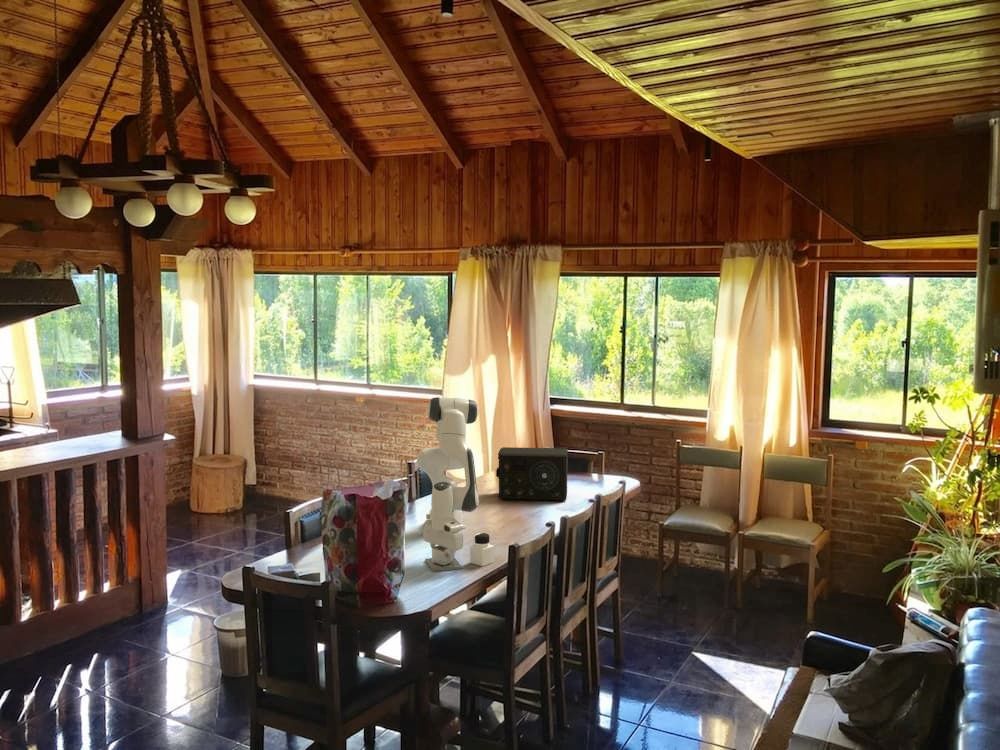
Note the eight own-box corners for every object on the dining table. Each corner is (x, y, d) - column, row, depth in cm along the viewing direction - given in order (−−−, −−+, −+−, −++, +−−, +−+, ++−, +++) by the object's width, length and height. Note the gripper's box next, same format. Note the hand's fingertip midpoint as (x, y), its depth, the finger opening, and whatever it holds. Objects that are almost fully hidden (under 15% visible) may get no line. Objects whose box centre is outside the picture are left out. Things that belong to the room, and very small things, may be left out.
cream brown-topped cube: (431, 561, 354) (431, 547, 353) (443, 557, 359) (443, 543, 358) (443, 565, 349) (442, 550, 349) (454, 561, 354) (454, 547, 353)
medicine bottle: (494, 562, 357) (494, 533, 356) (482, 566, 352) (482, 537, 350) (481, 558, 362) (481, 530, 361) (469, 562, 357) (469, 534, 355)
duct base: (424, 561, 359) (424, 548, 358) (453, 558, 362) (453, 545, 362) (432, 572, 346) (432, 559, 345) (461, 568, 349) (461, 555, 349)
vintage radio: (494, 501, 452) (494, 454, 449) (498, 492, 471) (498, 447, 468) (566, 503, 448) (567, 455, 445) (567, 494, 467) (568, 448, 464)
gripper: (419, 519, 357) (420, 552, 358) (454, 529, 343) (454, 563, 345) (430, 516, 361) (431, 548, 363) (465, 526, 348) (466, 559, 349)
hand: (443, 556), depth 354 cm, fingers open, 8 cm apart
